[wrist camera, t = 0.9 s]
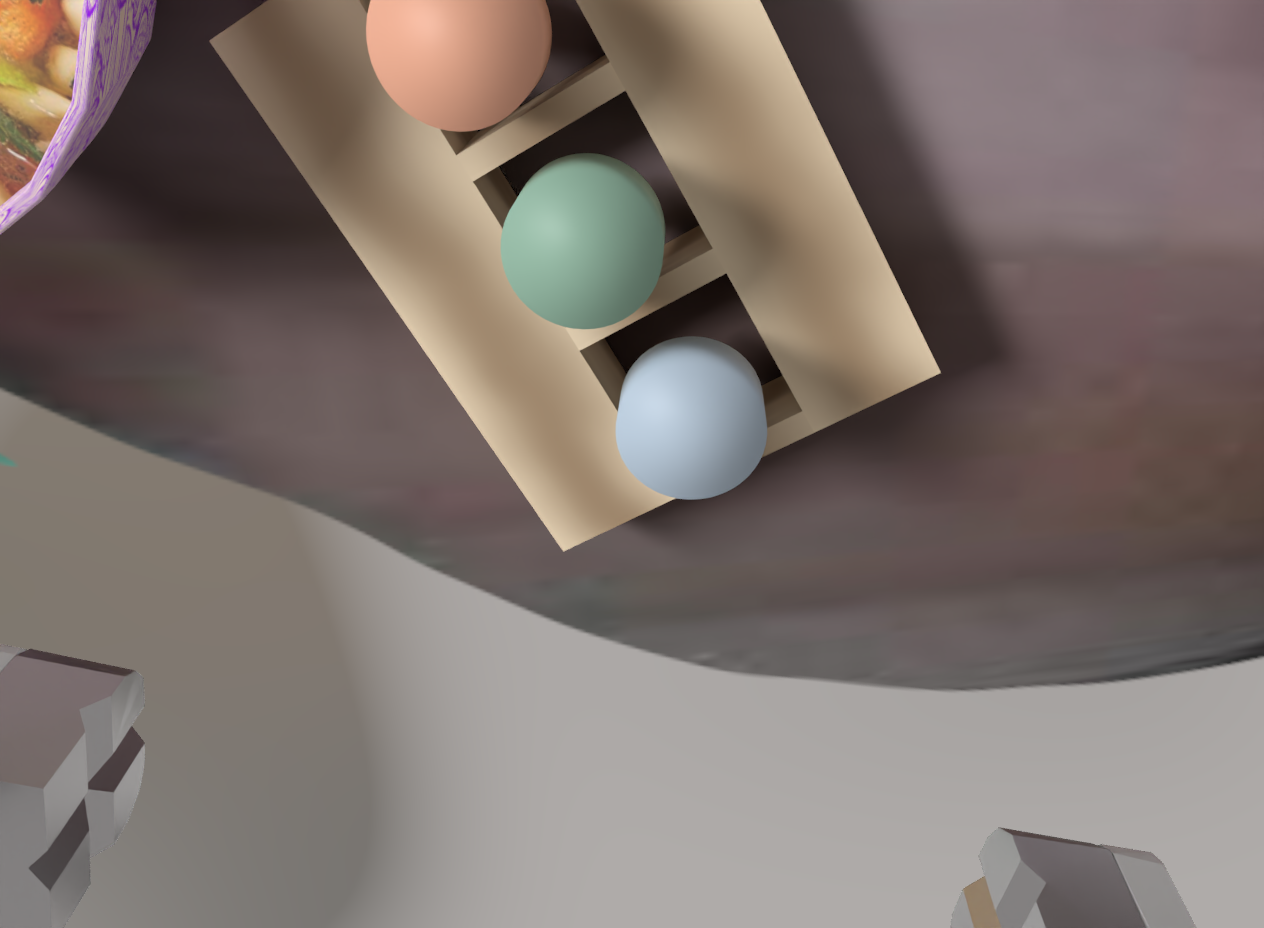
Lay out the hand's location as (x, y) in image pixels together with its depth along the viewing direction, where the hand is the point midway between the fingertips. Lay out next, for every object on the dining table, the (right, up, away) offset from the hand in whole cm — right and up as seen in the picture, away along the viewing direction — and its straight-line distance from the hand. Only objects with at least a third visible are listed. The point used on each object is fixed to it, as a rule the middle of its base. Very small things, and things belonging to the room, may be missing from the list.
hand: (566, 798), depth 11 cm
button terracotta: (-4, +18, +26) cm, 32 cm away
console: (0, +13, +31) cm, 34 cm away
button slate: (+3, +7, +31) cm, 32 cm away
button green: (-1, +12, +28) cm, 31 cm away
